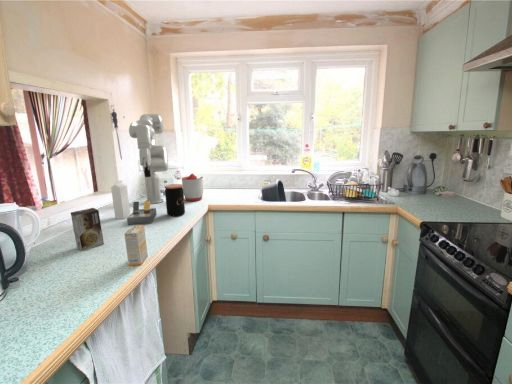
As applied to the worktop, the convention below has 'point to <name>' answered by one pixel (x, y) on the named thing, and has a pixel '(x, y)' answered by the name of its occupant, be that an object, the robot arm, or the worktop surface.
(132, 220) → the switch panel
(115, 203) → the milk
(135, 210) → the paddle black
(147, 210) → the paddle amber
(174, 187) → the coffee jar
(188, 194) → the citrus juicer
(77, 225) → the coffee box
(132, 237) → the supplement box
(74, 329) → the worktop surface
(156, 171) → the robot arm
